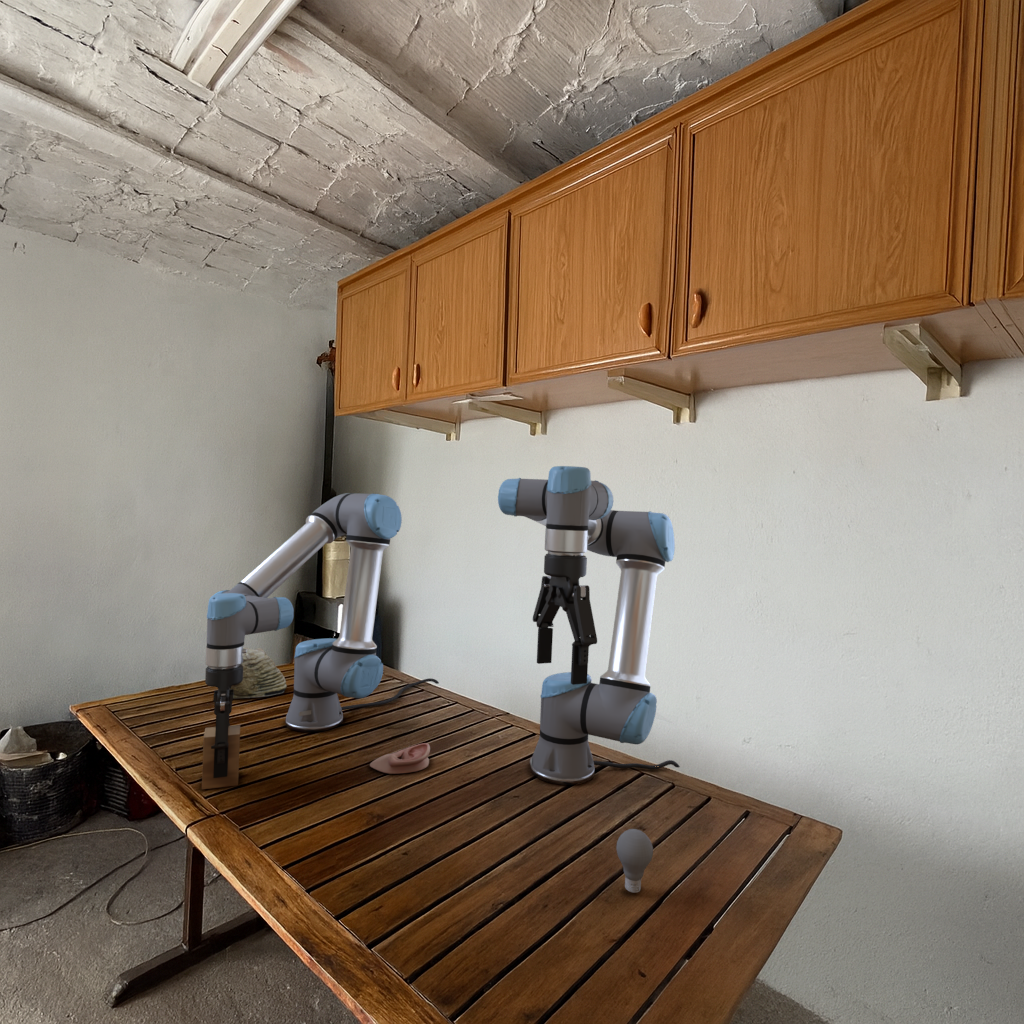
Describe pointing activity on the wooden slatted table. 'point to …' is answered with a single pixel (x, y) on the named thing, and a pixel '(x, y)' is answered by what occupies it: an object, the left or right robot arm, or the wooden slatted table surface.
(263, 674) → the fossil
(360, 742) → the wooden slatted table surface
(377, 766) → the anatomical model
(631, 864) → the light bulb
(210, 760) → the block
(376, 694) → the wooden slatted table surface
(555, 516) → the right robot arm
